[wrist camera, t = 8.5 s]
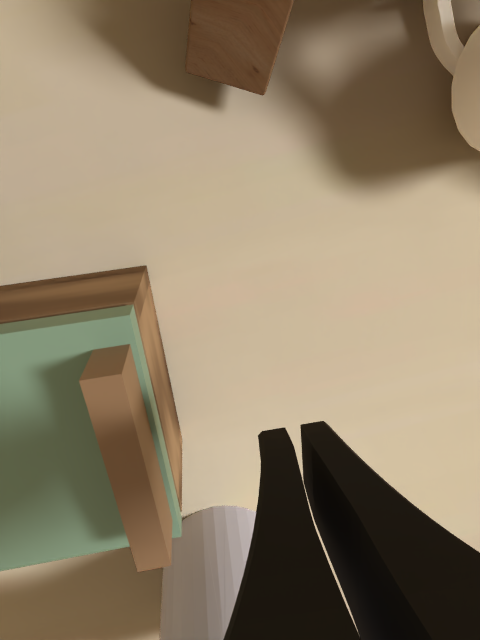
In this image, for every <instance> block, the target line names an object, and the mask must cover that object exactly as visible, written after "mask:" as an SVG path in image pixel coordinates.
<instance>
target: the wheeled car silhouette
mask: <svg viewBox="0 0 480 640" xmlns="http://www.w3.org/2000/svg"><path fill="white" fill-rule="evenodd" d="M423 10H424V16H425V20H426V25H427V30H428V35H429V40H430V44H431V47H432V49H433V51H434V53H435V55H436V56H437V58H438V59H439V61H440V62H441V64H442V65H443V66H444V67H445V68H446V69H447V70H448V71H449V72H450V73H451V74H452V75H453V76H454V77H453V81H452V85H451V89H452V112H453V115H454V119H455V122H456V125H457V128H458V131H459V132H460V133H461V135H462V136H463V137H464V139H465V140H466V141H467V143H468V144H469V145H470V146H471V147H473V148H475V149H476V150H478V151H480V25H479V26H478V28H477V29H476V30H475V31H474V32H473V33H472V34H471V36H470V37H469V39H468V41H467V43H466V45H465V47H464V46H463V45H462V43H461V41H460V40H459V38H458V35H457V32H456V28H455V22H454V17H453V12H452V6H451V0H423Z"/></svg>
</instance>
